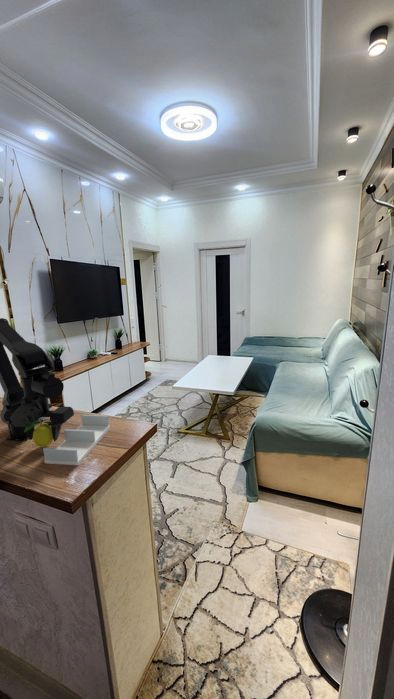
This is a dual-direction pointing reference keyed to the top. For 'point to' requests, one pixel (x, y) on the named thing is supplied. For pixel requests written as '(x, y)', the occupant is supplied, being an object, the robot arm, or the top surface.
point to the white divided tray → (78, 441)
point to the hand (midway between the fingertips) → (43, 439)
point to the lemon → (41, 434)
